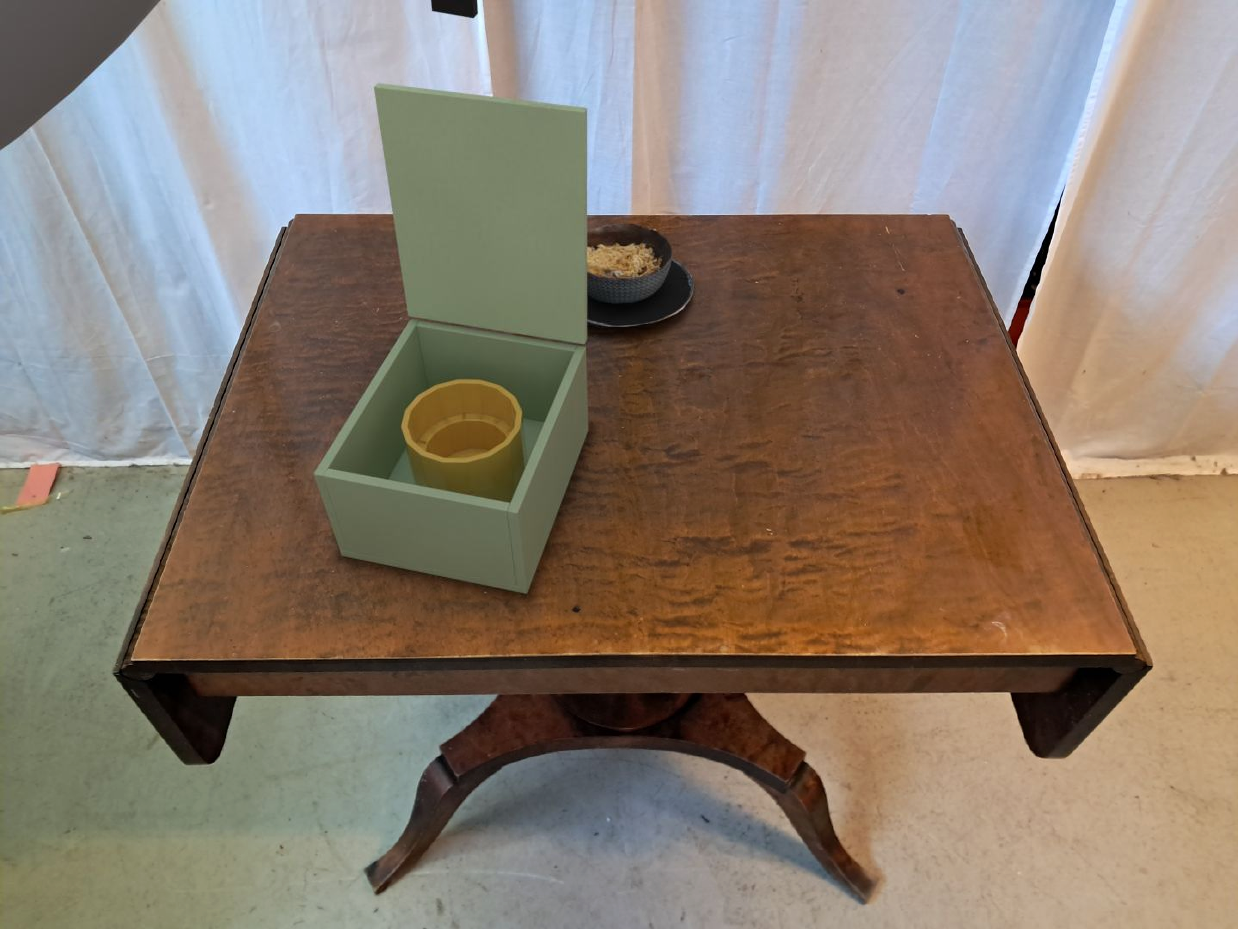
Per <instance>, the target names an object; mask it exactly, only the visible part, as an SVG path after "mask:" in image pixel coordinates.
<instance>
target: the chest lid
mask: <svg viewBox="0 0 1238 929" xmlns="http://www.w3.org/2000/svg"><path fill="white" fill-rule="evenodd" d="M373 90H374V98H375V103H376V104H375V105H376V110H377V117H378V126H379V131H380V137H381V138H380V139H381V144H382V151H383V157H384V164H385V172H386V177H387V183H388V190H389V197H390V204H391V210H392V217H393V218H392V219H393V223H394V230H395V238H396V245H397V250H398V251H397V252H398V257H399V258H398V259H399V265H400V271H401V277H402V284H403V291H404V298H405V304H406V310H407V316H408V317H410V318H417V319H421V320H423V319H424V320H428V321H435V322H441V323H448V324H454V325H461V326H467V327H474V328H479V329H484V330H490V331H491V330H492V331H498V332H505V333H511V334H517V335H522V336H529V337H534V338H535V337H536V338H540V339H541V338H542V339H549V340H555V341H559V342H560V341H561V342H566V343H574V344H580V345H586V343H587V341H588V323H587V232H588V108H587V107H585V106H583V107H582V106H575V105H566V104H559V103H549V102H541V101H532V100H525V99H516V98H508V97H498V96H491V95H482V94H474V93H467V92H465V93H464V92H456V91H448V90H440V89H433V88H431V89H430V88H423V87H413V86H405V85H397V84H389V83H380V82H379V83H376V84H375V85H374V86H373Z"/></svg>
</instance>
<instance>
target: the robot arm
mask: <svg viewBox="0 0 1238 929" xmlns="http://www.w3.org/2000/svg"><path fill="white" fill-rule="evenodd" d="M160 2H161V0H0V151H2V150H3V149H5V147H7V146H9V145H10V144H12V143H13V142H15V141H16V140H17V139H19V138H20V137H21V136H22V135H23V134H25V132H27V131H28V130H29V129H31V128H32V127H33V126H34V125H35V124H37V122H38V121H40V120H41V119H42V118H43V117H45V116H46V115H47V114H48V113H49V112H51V110H53V109H54V108H56V106H57V105H59V104H60V103H61V102H62V101H64V100H65V99H66V98H67V97H68V96H69V95H71V94H72V93H73V92H74V91H75V90H77V89H78V87H79V86H80V85H81V84H82V83H84V82H85V80H87V79H88V77H89V76H91V75H92V74H93V73H94V72H95V71H96V70H97V69H98V68H99V67H100V66H101V65H102V64H103V63H104V62H105V61H106V60H107V59H108V58H110V56H112V54H114V52H115V51H117V49H119V48H120V47H121V46H122V45H123V44H124V43H125V42H126V41H127V39H128V38H130V36H131V35H132V34H133V33H134V32H135V31H136V29H137V28H138V27H139V26H140V24H142V23H143V21H144V20H145V19H146V18H147V17H148V16H149V14H150V13H151V12H152V11H153V10H154V9H155V8H156V6H158V4H159V3H160ZM430 6H431V12H435V13H440V14H444V15H445V14H446V15H450V16H457V17H463V18H469V19H475V18H476V16H478V15H479V8H478V6H479V5H478V0H430Z"/></svg>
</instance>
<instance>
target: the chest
mask: <svg viewBox="0 0 1238 929" xmlns="http://www.w3.org/2000/svg"><path fill="white" fill-rule="evenodd" d="M587 366H588V364H587V347H586V346H583V345H576V344H570V343H564V342H560V341H559V342H557V341H552V340H545V339H541V338H540V339H539V338H535V337H534V338H533V337H527V336H521V335H514V334H508V333H502V332H496V331H491V330H489V331H488V330H485V329H484V330H483V329H477V328H470V327H465V326H459V325H458V326H457V325H453V324H452V325H451V324H445V323H440V322H439V323H438V322H432V321H427V320H422V319H421V320H419V319H414V318H410V319H409V321H408V322H407V324H406V326H405V327H404V329H403V331H402V332H401V333H400V335H399V337H398V338H397V341H395V343H394V344H393V346H392V348H391V349H390V351H389V353H388V354H387V356H386V358H385V359H384V361H383V362H382V364H381V366H380V367H379V369H378V370H377V372H376V374H375V375H374V377H373V378H372V380H371V382H370V383H369V384H368V386H367V388H366V389H365V391H364V393H363V394H362V395H361V397H360V399H359V400H358V402H357V404H356V405H355V406H354V408H353V410H352V412H351V413H350V415H349V416H348V418H347V419H346V421H345V423H344V424H343V426H342V427H341V429H340V431H339V432H338V434H337V435H336V437H335V438H334V441H333V442H332V443H331V445H330V447H329V448H328V450H327V452H326V453H325V455H324V456H323V458H322V460H321V461H320V463H319V464H318V465H317V467H316V469H315V470H314V472H313V477H314V480H315V483H316V485H317V489H318V491H319V494H320V497H321V500H322V503H323V506H324V508H325V511H326V514H327V517H328V520H329V523H330V525H331V526H330V527H331V528H332V531H333V534H334V537H335V540H336V543H337V545H338V549H339V552H340V555H341V557H346V558H350V559H355V560H361V561H364V562H369V563H376V564H379V565H385V566H388V567H389V566H390V567H394V568H398V569H403V570H408V571H414V572H419V573H424V574H428V575H433V576H439V577H443V578H448V579H452V580H458V581H463V582H468V583H473V584H478V585H482V586H487V587H492V588H495V589H496V588H497V589H501V590H505V591H510V592H511V591H512V592H515V593H521V594H525V595H527V594H528V592H529V590H530V587H531V585H532V582H533V579H534V577H535V573H536V571H537V569H538V566H539V563H540V561H541V558H542V555H543V552H544V550H545V547H546V544H547V542H548V540H549V537H550V534H551V532H552V530H553V529H552V528H553V526H554V524H555V520H556V518H557V515H558V512H559V509H560V507H561V504H562V502H563V499H564V497H565V494H566V491H567V489H568V486H569V483H570V480H571V478H572V475H573V473H574V472H573V471H574V470H575V467H576V464H577V462H578V459H579V457H580V454H581V451H582V448H583V446H584V443H585V441H586V438H587V436H588V432H589V402H588V401H589V399H588V372H587V371H588V370H587V369H588V368H587ZM457 379H477V380H484V381H487V382H490V383H494V384H497V385H500V386H502V387H503V388H504V389H506V390H507V391H508V392H510V393H511V394H512V395H514V396H515V397H516V399H517V401H518V403H519V406H520V408H521V410H522V413H523V423H524V433H525V443H526V453H527V465H526V468H525V470H524V472H523V475H522V477H521V479H520V482H519V484H518V487H517V489H516V491H515V494H514V496H513V498H512V501H511V503H508V502H502V501H497V500H492V499H487V498H481V497H476V496H471V495H466V494H460V493H455V492H450V491H444V490H439V489H434V488H429V487H423V486H418V485H415V484H414V480H413V476H412V471H411V467H410V463H409V459H408V454H407V450H406V446H405V442H404V437H403V433H402V429H401V425H402V421H403V417H404V413H405V410H406V409H407V407H408V406H409V405H410V404H411V403H412V401H413V400H414V399H415V398H416V397H417V396H418V395H419V394H421V393H423V392H424V391H426V390H428V389H430V388H431V387H433V386H435V385H437V384H441V383H445V382H449V381H453V380H457Z"/></svg>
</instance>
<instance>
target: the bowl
mask: <svg viewBox="0 0 1238 929" xmlns="http://www.w3.org/2000/svg"><path fill="white" fill-rule="evenodd" d="M401 429H402V433H403V437H404V442H405V446H406V450H407V454H408V459H409V463H410V467H411V471H412V476H413V480H414V484H415V485H418V486H423V487H429V488H434V489H439V490H444V491H450V492H455V493H460V494H466V495H471V496H476V497H481V498H487V499H492V500H497V501H502V502H508V503H511V501H512V498H513V496H514V494H515V491H516V489H517V487H518V484H519V482H520V479H521V477H522V475H523V472H524V470H525V468H526V465H527V453H526V443H525V433H524V423H523V413H522V410H521V408H520V406H519V403H518V401H517V399H516V397H515V396H514V395H512V394H511V393H510V392H508V391H507V390H506V389H504V388H503V387H502V386H500V385H497V384H494V383H490V382H487V381H484V380H477V379H457V380H453V381H449V382H445V383H441V384H437V385H435V386H433V387H431V388H430V389H428V390H426V391H424V392H423V393H421V394H419V395H418V396H417V397H416V398H415V399H414V400H413V401H412V403H411V404H410V405H409V406H408V407H407V409H406V410H405V413H404V417H403V421H402V425H401Z"/></svg>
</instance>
